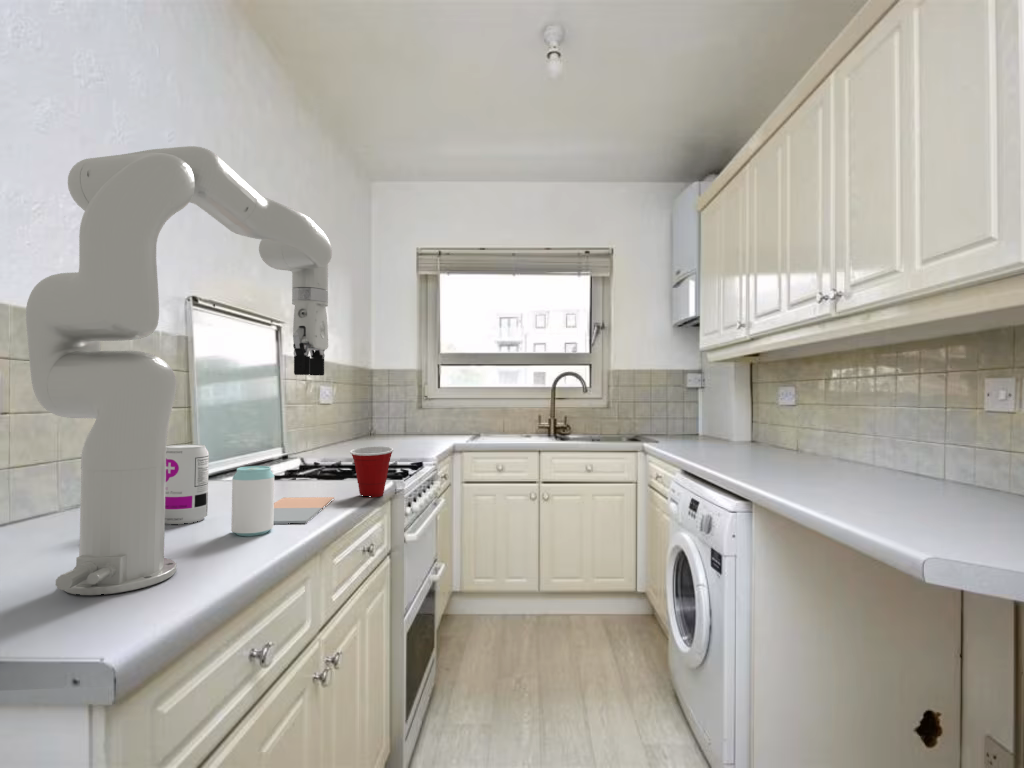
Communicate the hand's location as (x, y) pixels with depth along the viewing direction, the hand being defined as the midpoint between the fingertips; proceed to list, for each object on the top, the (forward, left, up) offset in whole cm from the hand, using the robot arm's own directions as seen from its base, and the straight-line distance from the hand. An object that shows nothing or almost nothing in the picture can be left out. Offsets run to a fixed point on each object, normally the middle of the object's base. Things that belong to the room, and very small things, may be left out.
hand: (309, 375), depth 119 cm
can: (-19, +5, -30) cm, 36 cm away
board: (-1, +3, -30) cm, 30 cm away
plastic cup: (+16, -11, -30) cm, 36 cm away
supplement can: (-9, +22, -30) cm, 38 cm away
